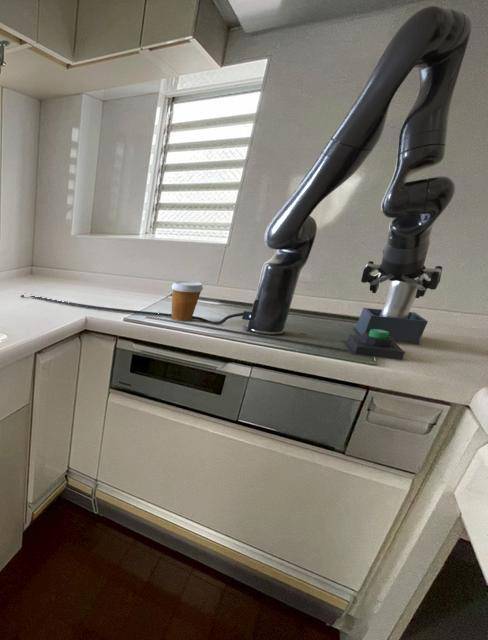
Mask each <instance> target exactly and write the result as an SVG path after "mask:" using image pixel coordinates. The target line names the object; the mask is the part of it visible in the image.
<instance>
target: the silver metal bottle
mask: <svg viewBox="0 0 488 640" xmlns="http://www.w3.org/2000/svg"><path fill="white" fill-rule="evenodd" d="M417 289H418V288H417V287H416V286H412V285H410V284H409V283H408V282H407V281H406V282H401V281H390V283H389V288H388V292H387V297H386V300H385V303H384V305H383V308H382V311H381V313H380V315H379V316H384V317H394V318H404V319H407V318H408V314H409V312H411V308H412V306H413V304H414V302H415V301H416V298H415V297H416V293H417Z"/></svg>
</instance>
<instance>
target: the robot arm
mask: <svg viewBox="0 0 488 640" xmlns="http://www.w3.org/2000/svg"><path fill="white" fill-rule="evenodd" d="M472 28H473V21H472V18H471V16H470V15H469V14H467V13H466V12H464V11H462V10H458V9H453V8H448V7H445V6H441V5H427V6H425V7H423V8H421V9H419V10H417V11H416V12H415V13H413V14H412V15H411V16H409V17H408V18H407V19H406V20H405V22H403V23H402V25H401V26H400V27H399V28H398V29H397V30H396V32H395V34H394V35H393V37H392V38H391V39H390V42H389V43H388V44H387V47H386V48H385V49H384V51H383V53H382V55H381V57H380V59H379V60H378V62H377V64H376V65H375V67H374V69H373V71H372V73H371V75H370V76H369V77H368V79H367V81H366V83H365V85H364V86H363V89H362V90H361V92H360V93H359V95H358V96H357V98H356V99H355V101H354V102H353V104H352V106H350V108H349V110H348V112H347V113H346V115H345V116H344V118H343V120H342V121H341V122H340V124H339V125H338V127H337V128H336V130H335V131H334V132H333V134H332V135H331V137H330V138H329V139H328V140H327V142H326V143H325V146H324V147H323V148H322V150H321V151H320V153H319V154H318V156H317V158H316V159H315V161H314V163H313V164H312V165H311V167H310V168H309V169H308V171H307V173H306V174H305V175H304V177H303V179H302V180H301V181H300V183H299V184H298V186H297V187H296V189H295V190H294V192H292V194H291V196H289V198H288V199H287V201H285V203H283V206H282V207H281V208H280V209H279V210H278V211H277V213H276V214H275V215H274V216H273V217H272V219H271V220H270V221H269V223H268V224H267V226H266V229H265V231H264V235H263V236H264V237H263V240H264V243H265V245H266V247H268V248H269V249H271V250H275V253H274V254H273V255H272V256H271V258H269V260H267V261H265V262H264V263H263V265H262V268H261V272H260V275H259V280H258V283H257V288H256V292H255V296H254V298H253V302H252V307H251V308H245V309H244V310H243V312H238V313H231V314H229V315H227V316H225V317H223V318H222V319H221V320H218V321H217V320H216V321H213V320H209V319H206V318H203V317H201V316H195V315H193V316H192V319H191V320H196V321H200V322H203V323H207V324H211V325H222V324H225V322H227V321H228V320H229V319H233V318H237V317H241V320H243V321H248V322H247V325H246V331H248V332H253V333H257V334H262V335H272V336H278V335H282V334H284V329H285V326H286V324H287V323H286V322H287V320H288V316H289V313H290V309H291V305H292V302H293V298H294V295H295V292H296V288H297V285H298V281H299V278H300V274H301V271H302V270H303V268H304V267H305V265H307V262H308V260H309V258H310V254H311V252H312V248H313V246H314V243H315V239H316V237H317V230H318V226H317V222H316V219H315V218H314V217H312V215H311V214H312V213H313V212H314V210H315V209H316V208H317V207H318V206H319V205H320V204H321V202H322V201H323V200H325V199H326V198H327V197H328V196H329V195H331V193H333V192H334V191H336V189H338V188H339V187H341V186H342V185H343V184H344V183H345V182H346V181H348V180H349V179H350V178H351V177H352V176H353V175H354V174H356V172H357V171H358V169H360V168H361V166H362V165H363V164H364V162H366V160H367V159H368V157H369V156H370V155H371V153H372V152H373V150H374V149H375V148H376V146H377V145H378V143H379V142H380V140H381V137H382V135H383V132H384V129H385V126H386V122H387V118H388V114H389V110H390V107H391V104H392V102H393V99H394V97H395V95H396V93H397V92H398V90H399V89H400V87H401V85H402V84H403V83H404V81H405V80H406V78H407V77H408V76H409V75H410V73H411V72H412V70H413V69H414V68H415V69H417V72H418V90H417V95H416V97H415V99H414V102H413V105H412V106H411V108H410V110H409V111H408V113H407V115H406V116H405V118H404V120H403V122H402V124H401V127H400V130H399V133H398V139H397V151H396V152H397V153H396V160H395V166H394V171H393V174H392V177H391V180H390V182H389V184H388V186H387V188H386V191H385V193H384V196H383V197H382V200H381V203H380V210H381V211H380V212H381V213H382V214H383V216H384V217H386V218H388V219H392V220H391V221H390V222H389V225H388V230H387V236H386V241H385V243H384V246H383V249H382V257H381V263H380V264H375V263H374V261H372V260H368V261H367V263H366V265H365V266H364V268H363V272H362V276H361V278H360V279H361V280H360V282H361V283H363V284H366V283H369V291H370V292H371V293H372V294H376V293H377V291H378V289H379V287H380V284H382V283H384V282H386V281H388V280H389V281H390V282H391V281H401V282H406V281H407V282H408V283H409V284H410V285H412V286H416V287H417V288H418V289H417V293H416V297H415V299H420V297H424V296H425V294H426V292H427V290H428V289H429V290H432V291H433V290H436V289H437V287H438V286H439V284H440V282H441V279H442V278H441V276H442V272H443V266H441V265H436V266H435V267H434V268H429V267H426V266H425V263H426V259H427V255H428V251H429V248H430V243H431V234H432V231H433V227H434V225H435V223H436V222H437V220H438V218H439V217H440V216H441V215H442V214H443V213H444V211H445V210H446V209H447V207H448V206H449V205H450V203H451V201H452V200H453V198H454V195H455V192H456V184H455V182H454V180H453V179H452V178H450V177H448V176H444V175H439V176H433V177H428V178H422V179H416V180H410V181H407V180H408V179H409V178H410V177H411V176H413V175H415V174H417V173H419V172H422V171H425V170H427V169H428V170H429V169H431V168H433V167H435V166H438V165H439V164H440V163H442V161H443V160H444V158H445V154H446V145H447V135H448V127H449V125H448V124H449V116H450V111H451V110H450V109H451V104H452V100H453V96H454V93H455V90H456V85H457V83H458V78H459V76H460V75H459V74H460V72H461V68H462V65H463V61H464V58H465V56H466V51H467V48H468V45H469V42H470V38H471V33H472ZM376 271H377V272H378V273H376V274H374V275H371V274H372V273H373V272H376ZM425 275H426V276H427V278H426V276H425ZM429 279H430V280H429ZM35 296H36V295H35ZM35 296H29V297H31V298H33V299H37V300H38V299H39V300H44V301H47V302H54V303H58V304H64V305H68V306H69V305H71V306H75V307H82V308H87V309H88V308H89V309H95V310H102V311H111V312H120V313H129V314H137V315H147V316H159V317H170V318H171V315H172V313H164V312H156V311H155V312H153V311H143V310H133V309H124V308H116V307H115V308H114V307H105V306H98V305H93V304H92V305H91V304H84V303H77V302H71V301H66V300H61V301H57V300H58V299H55V300H52V299H53V298H50V299H47V298H48V297H45V298H42V297H43V296H40V297H35ZM20 297H22V298H24V297H25V296H24V295H23V294H21V295H20V296H19V298H20ZM62 301H64V302H62ZM68 302H69V303H68ZM158 313H159V314H158Z"/></svg>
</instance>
